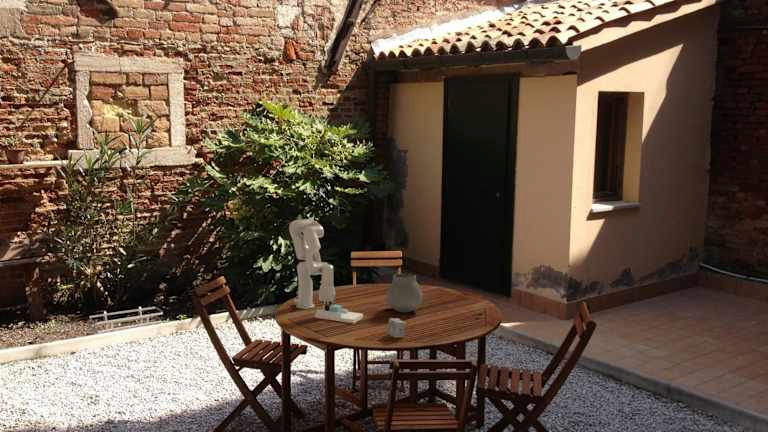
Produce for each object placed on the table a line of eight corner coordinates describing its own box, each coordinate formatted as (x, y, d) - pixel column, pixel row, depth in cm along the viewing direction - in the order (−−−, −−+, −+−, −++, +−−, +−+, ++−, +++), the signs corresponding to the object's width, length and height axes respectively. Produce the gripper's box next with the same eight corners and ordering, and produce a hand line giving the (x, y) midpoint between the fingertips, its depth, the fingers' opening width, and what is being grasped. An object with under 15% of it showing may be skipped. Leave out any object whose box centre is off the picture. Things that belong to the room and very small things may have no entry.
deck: (315, 317, 461) (315, 310, 460) (325, 311, 473) (325, 305, 473) (353, 323, 450) (353, 316, 449) (363, 317, 462) (363, 310, 462)
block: (331, 313, 461) (331, 306, 460) (334, 311, 465) (334, 304, 464) (338, 314, 459) (338, 307, 458) (341, 312, 463) (341, 305, 462)
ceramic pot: (427, 308, 486) (428, 273, 482) (413, 318, 464) (414, 281, 460) (394, 304, 496) (395, 269, 492) (380, 312, 474) (380, 276, 470)
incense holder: (406, 337, 424) (407, 321, 423) (394, 339, 420) (395, 322, 419) (398, 333, 433) (398, 316, 431) (386, 334, 429) (386, 318, 427)
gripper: (314, 283, 461) (314, 310, 464) (334, 286, 455) (334, 313, 458) (320, 281, 468) (319, 307, 471) (340, 283, 462) (339, 310, 465)
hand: (327, 310), depth 464 cm, fingers closed
